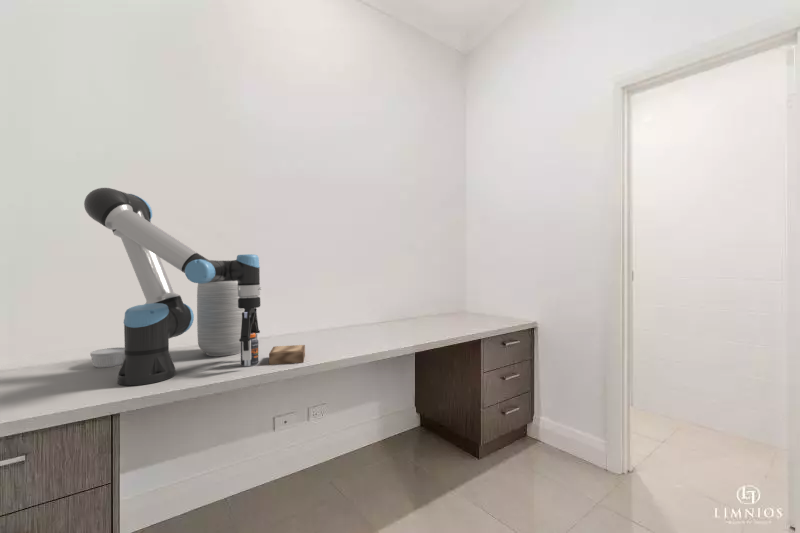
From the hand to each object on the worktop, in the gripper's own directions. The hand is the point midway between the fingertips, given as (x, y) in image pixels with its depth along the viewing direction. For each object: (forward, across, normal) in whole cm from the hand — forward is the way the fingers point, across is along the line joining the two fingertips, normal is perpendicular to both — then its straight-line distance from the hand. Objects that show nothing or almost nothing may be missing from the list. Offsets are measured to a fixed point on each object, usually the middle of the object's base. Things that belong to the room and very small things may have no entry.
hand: (250, 355), depth 133 cm
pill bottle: (+4, 0, 0) cm, 4 cm away
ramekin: (+3, +13, +51) cm, 53 cm away
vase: (+3, +23, +14) cm, 27 cm away
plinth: (+4, +4, -13) cm, 14 cm away
